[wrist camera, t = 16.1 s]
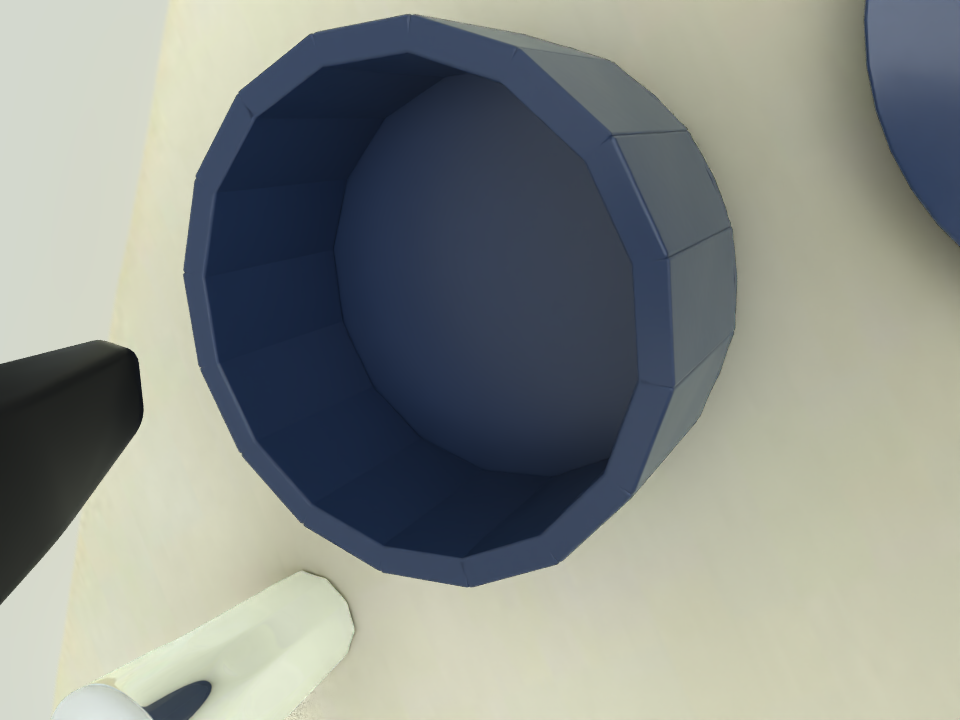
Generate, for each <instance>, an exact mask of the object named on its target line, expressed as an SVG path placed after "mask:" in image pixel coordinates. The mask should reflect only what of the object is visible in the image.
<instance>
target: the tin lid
mask: <svg viewBox="0 0 960 720" xmlns="http://www.w3.org/2000/svg"><path fill="white" fill-rule="evenodd" d="M864 35H865V51H866V67H867V72H868V76H869V81H870V86H871V91H872V96H873V101H874V106H875V110H876V113H877V116H878V119H879V121H880V124H881V127H882V130H883V132H884V135H885V138H886V141H887V143H888V146H889V149H890V151H891V153H892V155H893V157H894V159H895V161H896V163H897V164H898V166H899V168H900V170H901V172H902V174H903V175H904V177H905V179H906V181H907V183H908V185H909V187H910V188H911V190H912V191H913V193H914V194H915V195H916V197H917V198H918V199H919V201H920V202H921V203H922V205H923V206H924V207H925V209H926V210H927V211H928V213H929V214H930V215H931V217H932V218H933V219H934V221H935V222H936V223H937V225H938V226H939V227H940V228H941V229H942V230H943V231H944V232H945V233H946V234H947V235H948V236H949V237H950V238H951V239H952V240H953V241H954V242H955V243H956V244H957V245H958V246H959V247H960V0H865V9H864Z"/></svg>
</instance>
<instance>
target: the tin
mask: <svg viewBox="0 0 960 720" xmlns="http://www.w3.org/2000/svg"><path fill="white" fill-rule="evenodd" d="M687 130H688V129H687V128H686V127H685V126H684V125H683V124H682V123H681V122H680V121H679V120H678V119H677V118H676V117H675V116H674V115H673V114H672V113H671V112H670V111H669V110H668V109H667V108H666V107H665V106H664V105H663V104H662V103H661V101H660V100H659V99H658V98H657V97H656V96H655V95H654V94H652V93H651V92H650V91H648V90H647V89H646V88H645V87H643V86H642V85H641V84H639V83H638V82H637V81H636V80H634V79H633V78H632V77H630V76H629V75H628V74H626V73H625V72H624V71H623V70H622V69H621V68H620V67H619V66H618V65H616V64H615V63H614V62H611V61H610V60H607V59H604V58H601V57H598V56H594V55H591V54H588V53H584V52H581V51H578V50H576V49H573V48H570V47H565V46H561V45H558V44H555V43H551V42H548V41H545V40H542V39H538V38H535V37H532V36H528V35H525V34H520V33H514V32H509V31H503V30H498V29H492V28H487V27H482V26H476V25H471V24H465V23H460V22H454V21H449V20H444V19H438V18H433V17H427V16H422V15H416V14H414V15H411V14H405V15H400V16H395V17H390V18H385V19H380V20H375V21H369V22H364V23H359V24H354V25H349V26H344V27H339V28H334V29H329V30H323V31H318V32H316V33H314V34H309V35H308V36H307V37H306V38H304V39H303V40H302V41H301V42H300V43H298V44H297V45H296V46H295V47H293V48H292V49H291V50H290V51H288V52H287V53H286V54H285V55H283V56H282V57H281V58H280V59H279V60H277V61H276V62H275V63H274V64H272V65H271V66H270V67H269V68H267V69H266V70H265V71H264V72H262V73H261V74H260V75H259V76H258V77H256V78H255V79H254V80H253V81H251V82H250V83H249V84H248V85H246V86H245V87H244V88H243V89H241V90H240V91H239V94H237V95H236V97H235V99H234V101H233V103H232V105H231V107H230V109H229V111H228V113H227V115H226V117H225V119H224V121H223V123H222V125H221V127H220V129H219V131H218V133H217V135H216V137H215V139H214V140H213V142H212V144H211V146H210V148H209V150H208V152H207V154H206V156H205V158H204V160H203V162H202V164H201V166H200V168H199V170H198V172H197V174H196V179H195V182H194V190H193V198H192V206H191V214H190V222H189V230H188V238H187V245H186V253H185V261H184V272H185V273H184V274H183V277H184V283H185V288H186V294H187V300H188V306H189V312H190V318H191V324H192V330H193V335H194V341H195V347H196V353H197V359H198V365H199V367H201V372H202V374H203V377H204V379H205V381H206V383H207V385H208V387H209V389H210V391H211V393H212V396H213V398H214V400H215V402H216V404H217V406H218V408H219V410H220V412H221V415H222V417H223V419H224V421H225V423H226V425H227V427H228V429H229V431H230V434H231V436H232V438H233V440H234V442H235V444H236V446H237V448H238V450H239V452H240V453H242V457H243V458H244V459H245V460H246V461H247V462H248V464H249V465H250V466H251V467H252V468H253V469H254V470H255V471H256V473H257V474H258V475H259V476H260V477H261V478H262V479H263V481H264V482H265V483H266V484H267V485H268V486H269V487H270V489H271V490H272V491H273V492H274V493H275V494H276V495H277V497H278V498H279V499H280V500H281V501H282V502H283V503H284V504H285V506H286V507H287V508H288V509H289V510H290V511H291V512H292V514H293V515H294V516H295V517H296V518H297V519H298V520H299V522H300V523H304V526H305V527H307V528H308V529H310V530H312V531H313V532H315V533H317V534H318V535H320V536H322V537H323V538H325V539H327V540H328V541H330V542H332V543H333V544H335V545H337V546H338V547H340V548H342V549H343V550H345V551H347V552H348V553H350V554H352V555H353V556H355V557H357V558H359V559H360V560H362V561H364V562H365V563H367V564H369V565H370V566H372V567H374V568H375V569H377V570H379V571H382V572H383V573H388V574H394V575H399V576H405V577H411V578H417V579H422V580H428V581H434V582H440V583H445V584H451V585H457V586H462V587H475V586H479V585H483V584H486V583H490V582H494V581H498V580H501V579H505V578H509V577H512V576H516V575H520V574H524V573H527V572H531V571H535V570H538V569H542V568H546V567H549V566H553V565H557V564H558V563H559V562H561V561H563V560H564V559H565V558H566V557H567V556H569V555H570V554H571V553H572V552H573V551H574V550H575V549H576V548H577V547H578V546H580V545H581V544H582V543H583V542H584V541H585V540H586V539H587V538H588V537H589V536H590V535H592V534H593V533H594V532H595V531H596V530H597V529H598V528H599V527H600V526H601V525H602V524H604V523H605V522H606V521H607V520H608V519H609V518H610V517H611V516H612V515H613V514H614V513H616V512H617V511H618V510H619V509H620V508H621V507H622V506H623V505H624V504H625V503H626V502H628V501H629V500H630V499H631V498H632V497H633V496H634V494H635V493H636V492H637V491H638V490H639V489H640V487H641V486H642V485H643V484H644V483H645V481H646V480H647V479H648V478H649V477H650V476H651V474H652V473H653V472H654V471H655V470H656V469H657V467H658V466H659V465H660V464H661V463H662V461H663V460H664V459H665V458H666V457H667V456H668V454H669V453H670V452H671V451H672V450H673V449H674V447H675V446H676V445H677V444H678V443H679V442H680V440H681V439H682V438H683V437H684V436H685V434H686V433H687V432H688V431H689V430H690V429H691V427H692V426H693V425H694V424H695V423H696V422H697V419H698V418H699V417H700V416H701V413H702V411H703V408H704V406H705V403H706V401H707V398H708V396H709V394H710V392H711V390H712V388H713V385H714V383H715V381H716V379H717V377H718V375H719V373H720V371H721V368H722V365H723V362H724V359H725V356H726V353H727V350H728V347H729V344H730V342H731V339H732V337H733V334H734V331H733V330H734V329H735V311H736V291H737V270H736V260H735V249H734V241H733V229H732V227H730V226H731V223H730V220H729V218H728V215H727V211H726V208H725V205H724V202H723V200H722V197H721V194H720V192H719V189H718V186H717V184H716V181H715V178H714V176H713V174H712V172H711V171H710V169H709V167H708V165H707V163H706V161H705V159H704V158H703V156H702V154H701V152H700V150H699V148H698V147H697V145H696V144H695V142H694V141H693V139H692V137H691V135H690V133H689V132H688V131H687Z"/></svg>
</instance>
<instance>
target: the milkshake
mask: <svg viewBox="0 0 960 720" xmlns="http://www.w3.org/2000/svg"><path fill="white" fill-rule="evenodd" d="M354 632H355V628H354V625H353V621H352V618H351V615H350V611H349V608H348V604H347V601H346V600H345V599H344V598H343V597H342V596H341V595H340V594H339V592H338V591H337V590H336V589H335V588H334V587H333V586H332V585H331V583H330V582H329V581H328V580H327V579H326V578H323V577H319V576H316V575H313V574H311V573H308V572H305V571H299V572H297V573H295V574H293V575H291V576H289V577H287V578H285V579H283V580H281V581H279V582H277V583H275V584H273V585H271V586H270V587H268V588H266V589H264V590H263V591H261V592H259V593H257V594H256V595H254V596H252V597H250V598H249V599H247V600H245V601H243V602H242V603H240V604H238V605H236V606H235V607H233V608H231V609H229V610H227V611H226V612H224V613H222V614H220V615H219V616H217V617H215V618H213V619H212V620H210V621H208V622H206V623H205V624H203V625H201V626H199V627H197V628H196V629H194V630H192V631H190V632H189V633H187V634H185V635H183V636H181V637H180V638H178V639H176V640H174V641H172V642H170V643H167V644H165V645H163V646H161V647H158V648H156V649H154V650H152V651H150V652H148V653H146V654H144V655H142V656H141V657H139V658H137V659H135V660H133V661H131V662H129V663H127V664H125V665H123V666H121V667H119V668H117V669H116V670H114V671H112V672H110V673H108V674H106V675H104V676H102V677H100V678H98V679H96V680H94V681H93V682H91V683H89V684H87V685H85V686H83V687H82V688H80V689H77V690H75V691H74V692H72V693H71V694H69V695H68V696H67V697H66V698H64V699H63V700H62V701H61V703H60V704H59V705H58V707H57V708H56V710H55V712H54V714H53V716H52V718H51V720H285V719H286V718H287V717H288V716H289V715H290V714H291V713H292V712H293V711H294V710H295V709H296V708H297V706H298V705H299V704H300V703H301V702H302V701H303V700H304V699H305V698H306V697H307V696H308V695H309V694H310V693H311V692H312V691H313V690H314V689H315V687H316V686H317V685H318V684H319V683H320V682H321V681H322V680H323V679H324V678H325V677H326V676H327V675H328V674H329V673H330V672H331V671H332V670H333V669H334V667H335V666H336V665H337V664H338V663H339V662H340V661H341V660H342V659H343V658H344V657H345V656H346V654H347V653H348V650H349V647H350V644H351V641H352V638H353V635H354Z"/></svg>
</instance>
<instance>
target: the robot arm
mask: <svg viewBox="0 0 960 720" xmlns="http://www.w3.org/2000/svg"><path fill="white" fill-rule="evenodd" d="M143 411H144V408H143V398H142V389H141V379H140V370H139V362H138V358H137V357H136V355H135V353H134V352H133V351H131V350H130V349H128V348H125V347H122V346H119V345H116V344H113V343H110V342H107V341H102V340H95V341H90V342H86V343H82V344H78V345H74V346H70V347H66V348H62V349H58V350H55V351H50V352H46V353H42V354H39V355H35V356H31V357H27V358H23V359H19V360H15V361H11V362H7V363H3V364H0V605H1V604H2V602H3V601H4V600H5V599H6V598H7V597H8V596H9V595H10V593H11V592H12V591H13V590H14V589H15V588H16V587H17V586H18V584H19V583H20V582H21V581H22V580H23V579H24V578H25V577H26V576H27V574H28V573H29V572H30V571H31V570H32V569H33V568H34V567H35V565H36V564H37V563H38V562H39V561H40V560H41V558H42V557H43V556H44V555H45V554H46V553H47V552H48V550H49V549H50V548H51V547H52V546H53V545H54V543H55V542H56V541H57V540H58V539H59V537H60V536H61V535H62V533H63V532H64V531H65V530H66V528H67V527H68V526H69V524H70V523H71V521H73V519H74V518H75V517H76V515H77V514H78V512H79V511H80V510H81V508H82V507H83V505H84V504H85V503H86V501H87V500H88V499H89V497H90V496H91V494H92V493H93V492H94V490H95V489H96V488H97V486H98V485H99V483H100V482H101V481H102V479H103V478H104V476H105V475H106V474H107V472H108V471H109V470H110V468H111V467H112V465H113V464H114V463H115V461H116V460H117V458H118V457H119V456H120V454H121V453H122V452H123V450H124V449H125V447H126V446H127V445H128V443H129V442H130V441H131V439H132V438H133V436H134V435H135V434H136V432H137V430H138V428H139V426H140V424H141V421H142V418H143Z"/></svg>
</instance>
